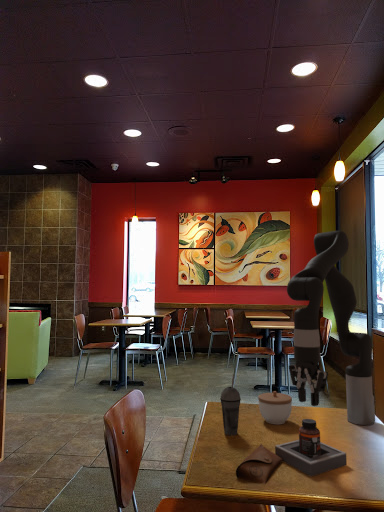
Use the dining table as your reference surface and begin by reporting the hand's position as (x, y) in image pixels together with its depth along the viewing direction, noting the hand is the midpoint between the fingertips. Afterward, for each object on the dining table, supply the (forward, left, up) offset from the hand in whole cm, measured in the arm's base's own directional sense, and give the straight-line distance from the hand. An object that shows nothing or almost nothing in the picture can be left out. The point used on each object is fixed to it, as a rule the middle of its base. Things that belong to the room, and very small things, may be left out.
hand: (308, 403), depth 114 cm
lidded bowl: (-15, -32, -16) cm, 39 cm away
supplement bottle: (0, 0, -16) cm, 16 cm away
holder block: (0, 0, -16) cm, 16 cm away
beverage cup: (+7, -30, -16) cm, 35 cm away
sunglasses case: (+15, -3, -17) cm, 23 cm away
